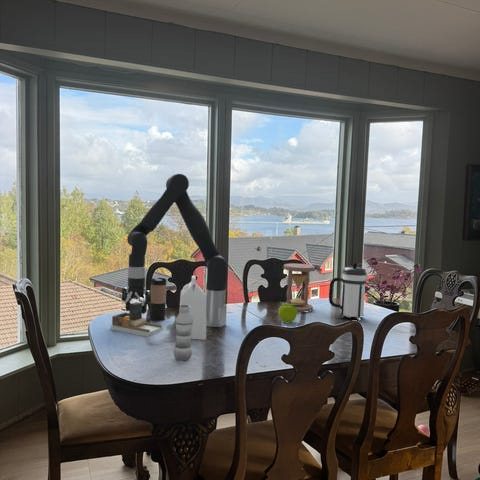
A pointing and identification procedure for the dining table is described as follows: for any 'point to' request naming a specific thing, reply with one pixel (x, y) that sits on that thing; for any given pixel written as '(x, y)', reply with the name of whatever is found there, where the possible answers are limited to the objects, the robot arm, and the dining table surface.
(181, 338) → the plastic bottle
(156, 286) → the travel mug
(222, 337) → the dining table surface
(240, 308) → the dining table surface
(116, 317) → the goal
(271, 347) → the dining table surface
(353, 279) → the coffee press
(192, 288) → the milk
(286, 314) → the fruit
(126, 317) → the ball
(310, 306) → the hourglass
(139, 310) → the kicker
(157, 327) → the shallow rectangular tray
